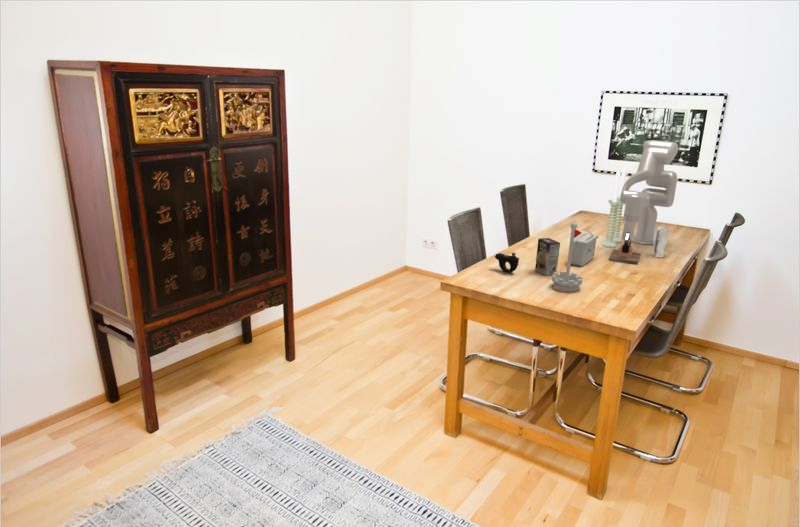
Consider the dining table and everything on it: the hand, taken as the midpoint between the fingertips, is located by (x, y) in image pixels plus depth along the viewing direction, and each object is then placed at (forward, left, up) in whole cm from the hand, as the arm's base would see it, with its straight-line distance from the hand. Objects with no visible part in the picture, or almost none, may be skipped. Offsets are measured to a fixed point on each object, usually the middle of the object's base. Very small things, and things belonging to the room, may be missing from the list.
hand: (625, 250), depth 292 cm
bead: (0, 0, -3) cm, 3 cm away
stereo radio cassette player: (+18, -19, -5) cm, 27 cm away
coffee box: (+46, -31, -4) cm, 56 cm away
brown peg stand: (0, 0, -4) cm, 4 cm away
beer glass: (-14, +15, -4) cm, 21 cm away
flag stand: (+62, -18, -5) cm, 65 cm away
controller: (+55, -48, -4) cm, 73 cm away
